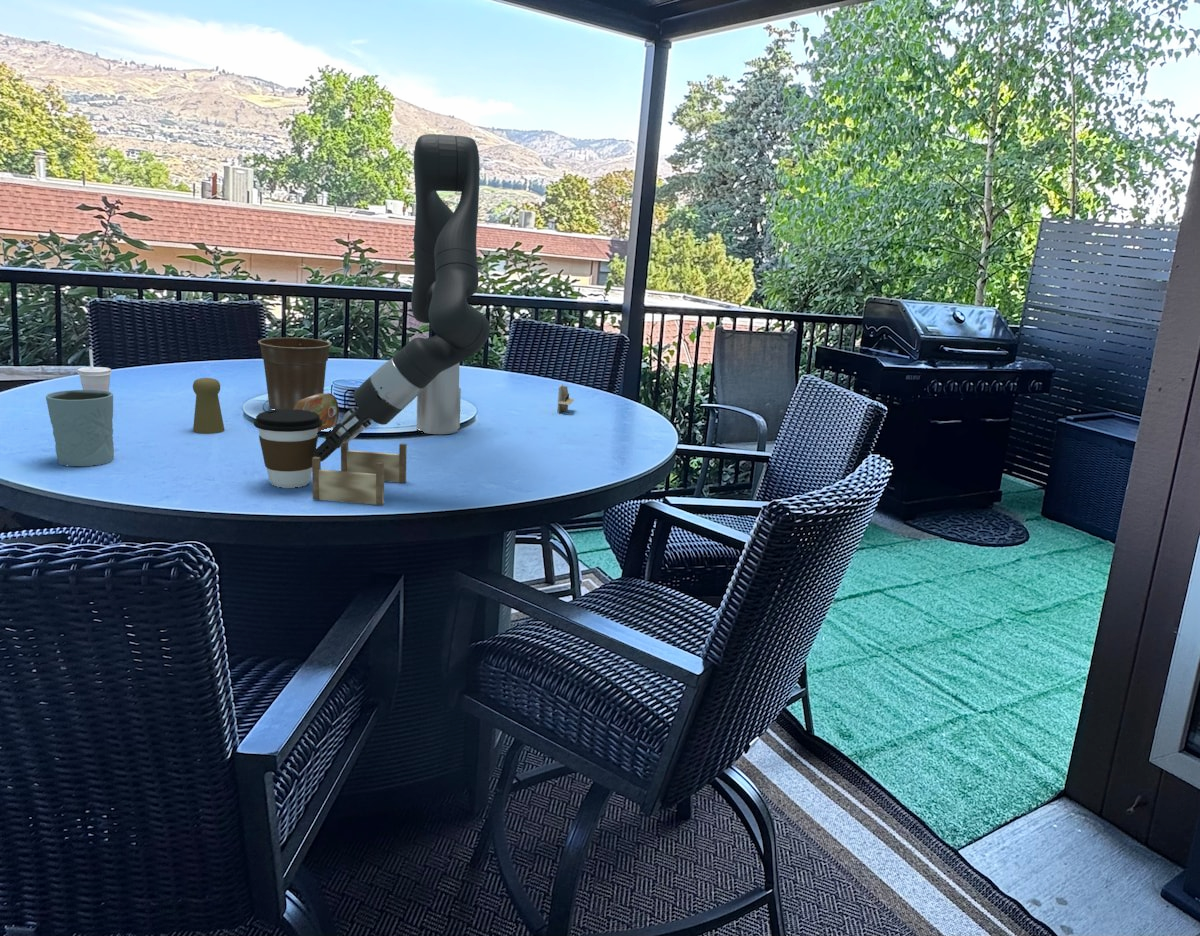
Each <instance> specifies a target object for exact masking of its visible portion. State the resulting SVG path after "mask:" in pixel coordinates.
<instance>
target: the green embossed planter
mask: <svg viewBox="0 0 1200 936" xmlns="http://www.w3.org/2000/svg"><path fill="white" fill-rule="evenodd" d="M45 399H46V404H47V409H48V415H49V419H50V421H49V422H50V424H51V425H52V434H53V435H52V436H53V438H54V442H55V453H56V459H57V462H59V463H60V464H59V463H58V464H59V465H61V464H62V465H61V466H63V465H68V466H67V467H69V466H91V467H94V466H93V465H98V466H102V465H101V464H103V465H106V464H105V463H107V464H109V463H108V462H110V463H111V461H112V460H113V461H114V458H115V447H114V445H115V444H114V427H113V425H114V424H113V418H114V393H113V392H111V391H109V392H107V391H99V390H83V389H75V390H74V389H73V390H61V391H55V392H50V393H47V394H46V395H45ZM113 461H112V462H113Z"/></svg>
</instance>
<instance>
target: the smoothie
mask: <svg viewBox="0 0 1200 936" xmlns="http://www.w3.org/2000/svg"><path fill="white" fill-rule="evenodd" d="M88 353H89V354H88V355H89V366H87V367H80V368H78V369H77V375H78V376H79V379H80V384H81V387H82V388H81V389H82V390H99V391H107V392H110V385H111V384H110V383H111V382H110V381H111V375H112V374H113V373H112V368H109V367H104V366H94V360H93V359H94V358H93V349H92V348H90V349H88Z"/></svg>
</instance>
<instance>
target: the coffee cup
mask: <svg viewBox="0 0 1200 936" xmlns="http://www.w3.org/2000/svg"><path fill="white" fill-rule="evenodd" d="M255 418H256V419H254V420H253V425H254V427H255V428H256V429H258V433H259V435H258V437H259V438H258V440H259V443H260V447H261V449H260V450H261V452H262V459H263V463H264V466H265V468H266V471H267V477H268V480H269V482H270V483H271V485H272V486H273V485H274V486H273V487H275V486H277V487H276V488H279V487H282V488H281V489H296V488H295V487H298V488H302V486H303V487H305V486H307V484H308V485H309V483H310V481H311V478H312V458H313V457H315V456H314V455H313V452H314V451H315V450H316V449H317V447H318V440H319V439H318V438H319V437H318V434H317V433H318V428H319V427H321V425H322V420H321V419H320V416H319V415H318V414H317V413H315V412H311V411H305V410H291V409H285V410H266V411H262V412H260V413H258V414H257V415H256V416H255Z"/></svg>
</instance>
